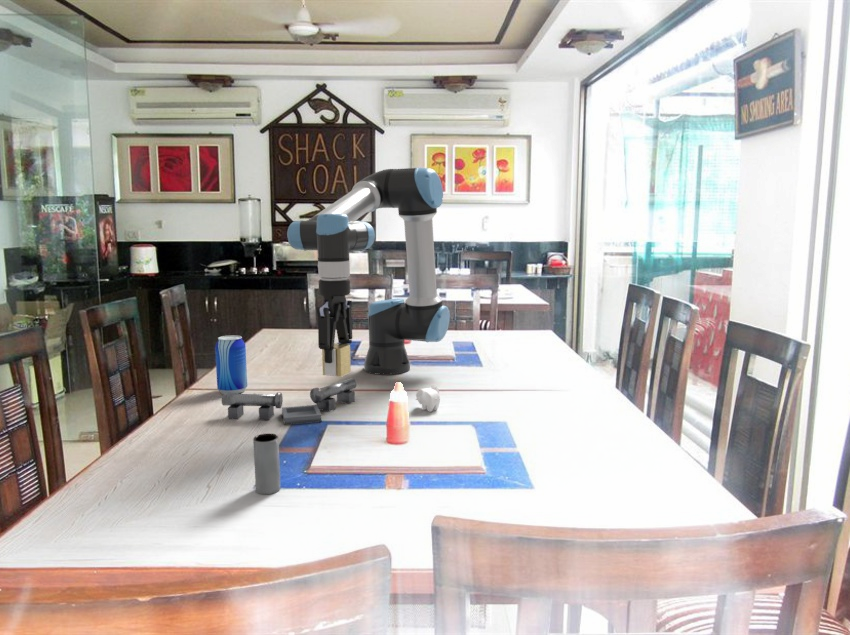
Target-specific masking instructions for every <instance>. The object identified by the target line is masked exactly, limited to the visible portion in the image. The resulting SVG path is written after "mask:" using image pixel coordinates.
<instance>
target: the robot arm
mask: <svg viewBox="0 0 850 635" xmlns="http://www.w3.org/2000/svg"><path fill="white" fill-rule="evenodd" d="M443 188H444V187H443V183H442V180H441V178H440V175H438V173H437V172H436V171H435V169H432V168H427V167H408V168H388V169H387V168H386V169H382V170H379V171H376V172H374V173H372V174H370V175H368V176H366V177H364V178H362V179H361V180H359V181H358V182H357V183H355V184H354V185H353V187H352V189H351V191H349V192H347V193H346V194H345V195H343V196H341V197H340V198H338V199H337V200H336V201H335V202H333V203H331V204H329V205H328V206H327V207H326V208H324V209H323V210H321V211H319V212H318V213H317V214H315V215H314V216H312V217H311V218H309V219H307V220H302V219H301V220H295V221H293V222H291V223H290V224H289V226H288V227H287V232H286V233H287V234H286V235H287V236H286V237H287V240H288V244H289V246H290V247H291V248H292V249H294V250H301V251H304V252H305V251H317V269H318V278H320V279H319V280H318V281H317V282H318V294H319V295H320V296H323V303H322V306H318V307H317V308H316V313H317V324H318V325H317V328H318V329H317V331H318V332H317V333H318V337H317V338H318V339H317V340H318V344H317V345H318V349H320V350H322V349H324V358H325V375H324V376H327V377H329V376H330V377H337V376H336V349H333V348H334V343H335V337H336V335H337V340H338V343H337V344H350V345H351V344H352V342H353V324H352V323H353V322H352V321H353V319H352V318H353V317H352V304H353V301H352V300H347V297H346V296H349V295H350V294H351V281H350V279H349V278H350V276H351V271H350V270H351V268H350V266H351V265H350V264H351V263H350V253H351V252H363V251H365V250H367V249H370V248H371V247H372V245H373V244H374V242H375V239H376V238H375V237H376V233H375V229H374V227H373V226H372V225H371V224H370V223H369V222H367V221H363V220H359V218H361V217H362V216H364V215H366V213H373V212H374V211H377V209H387V208H388V209H389V208H390V209H397V210H398V211H397V212H398V216H399V217H400V218H401V219H402V220H403V224H404V236H405V237H404V238H405V249H406V264H407V277H408V278H407V279H408V291H409V296H408V297H407V298H406V299H404V298H391V299H390V298H389V299H383V300H378V301H372V302H371V303H370V304H369V305H368V314H367V318H368V349H367V352H366V356H365V360H364V363H363V366H364V367H363V370H364V371H365V372H366V373H369V374H374V375H397V374H403V373H407V372H409V371H410V370H411V361H410V358H409V355H408V352H407V350H406V347H405V341H415V342H426V343H438V342H440V341H442V340H443V339H444V338H445V336H446V334H447V333H448V329H449V325H450V318H451V317H450V316H451V314H450V309H449V307H448V306H446V305H443V298H442V297H441V296H440V295H438V293H437V275H436V261H435V259H436V258H435V256H436V255H435V244H434V242H435V241H434V227H433V225H434V224H433V218H434V217H435V215H437V212H438V211H437V210H438V208H440V207H441V206H442V204H443V198H444V189H443Z"/></svg>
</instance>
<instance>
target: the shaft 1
mask: <svg viewBox="0 0 850 635" xmlns="http://www.w3.org/2000/svg"><path fill="white" fill-rule="evenodd" d="M283 398H284V397H283V394H282V392H276V394H275V393H274V394H272V393H271V394H269V393H267V394H264V393H239V394H222V396H221V400H220V401H221V405H222V406H225V407H226V406H228V407H227V419H228V420H239V419H240V418H241V417H242V416H243V415H245V414H244V411H245V410H244V407H258V417H259V421H270V419H271V418H272V417H273V416H275V411H274V410H275V409H282V408H283V403H284V402H283V400H284V399H283ZM274 407H275V408H274Z"/></svg>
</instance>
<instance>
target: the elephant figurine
mask: <svg viewBox="0 0 850 635" xmlns="http://www.w3.org/2000/svg"><path fill="white" fill-rule="evenodd" d="M439 393H440V390H439V388H438V387H437V386H435V385H431V386H430V387H425V388H419V389H418V390H417V392H416V394H415V397H416V399H415V401H417V402H418V404H420V405H421V408H422V411H427V412H433V411H436V410H438V408H439V406H440V401H441V398H440V395H439Z"/></svg>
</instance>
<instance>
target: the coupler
mask: <svg viewBox="0 0 850 635" xmlns="http://www.w3.org/2000/svg"><path fill="white" fill-rule="evenodd" d="M333 349H336V376H335V377H337V378H338V377H340V378H342V377H344V376H345V375H348V374H350V373H352V370H351V367H352V366H351V365H352V364H351V363H352V362H351V344H349V343H348V344H340V343H339V344H338V343H336V342H334V348H333ZM321 350H322V352H321V356H322V376H326V375H325V358H324V349H321Z"/></svg>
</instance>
